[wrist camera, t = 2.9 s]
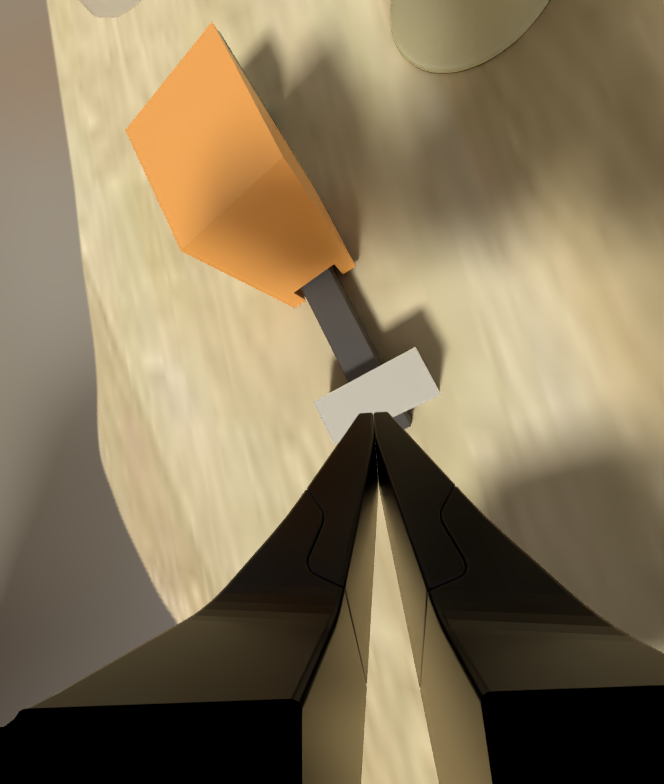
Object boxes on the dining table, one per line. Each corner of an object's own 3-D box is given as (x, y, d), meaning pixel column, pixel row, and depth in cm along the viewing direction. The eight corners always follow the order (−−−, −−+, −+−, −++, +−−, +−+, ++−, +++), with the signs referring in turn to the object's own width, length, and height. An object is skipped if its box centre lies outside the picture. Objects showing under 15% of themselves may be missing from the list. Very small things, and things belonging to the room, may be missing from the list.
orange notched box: (355, 265, 19) (283, 156, 9) (294, 307, 20) (181, 250, 11) (316, 192, 19) (212, 21, 10) (260, 239, 21) (125, 130, 12)
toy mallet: (446, 405, 18) (453, 416, 13) (353, 447, 20) (330, 469, 15) (279, 94, 20) (234, 10, 16) (213, 162, 23) (156, 106, 18)
